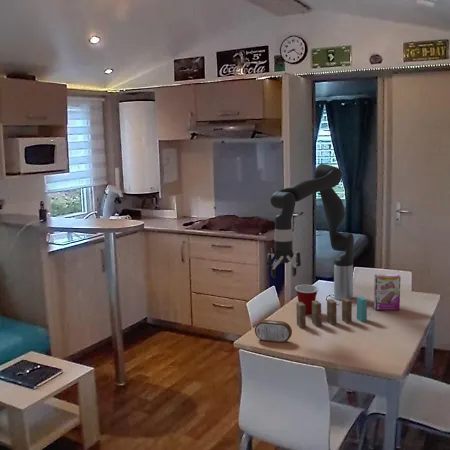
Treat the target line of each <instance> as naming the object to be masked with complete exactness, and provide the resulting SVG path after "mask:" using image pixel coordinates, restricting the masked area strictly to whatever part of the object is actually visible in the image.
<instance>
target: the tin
mask: <svg viewBox="0 0 450 450" xmlns="http://www.w3.org/2000/svg"><path fill="white" fill-rule="evenodd" d="M254 332H255V333H254V334H255V336H256V337H257V338H258V339H259V340H260V341H263V342H274V343H285V342H288V340H290V338H291V337H292V333H293V329H292V327H291V326H290V324H289V323H287V322H285V321H282V320H281V321H280V320H271V319H270V320H269V319H262V320H260V321H258V322H257V323H256V325H255V327H254Z"/></svg>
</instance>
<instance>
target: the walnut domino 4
mask: <svg viewBox="0 0 450 450" xmlns="http://www.w3.org/2000/svg"><path fill="white" fill-rule="evenodd" d="M352 307H353V304H352V299H348V298H342V300H341V321H343V322H344V323H345V324H352V321H353V319H352V318H353V317H352V316H353V314H352V311H353V310H352V309H353V308H352Z"/></svg>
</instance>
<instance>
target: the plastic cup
mask: <svg viewBox="0 0 450 450" xmlns="http://www.w3.org/2000/svg"><path fill="white" fill-rule="evenodd" d="M294 288H295V291H296V295H297V302H302V303H304V304H305V307H306V315H310V314H311V315H312V301H316V298H317V294H318V292H319V287H318V286H316V285H314V284H299V285H296V286H295V287H294Z"/></svg>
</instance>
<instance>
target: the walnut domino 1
mask: <svg viewBox="0 0 450 450" xmlns="http://www.w3.org/2000/svg"><path fill="white" fill-rule="evenodd" d="M306 315H307V314H306V307H305V304H304V303H302V302H299V301H297V302H296V326H297V327H298V328H300V329H305V327H306V325H307V322H306V321H307V320H306V319H307V318H306V317H307V316H306ZM306 328H307V327H306Z"/></svg>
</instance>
